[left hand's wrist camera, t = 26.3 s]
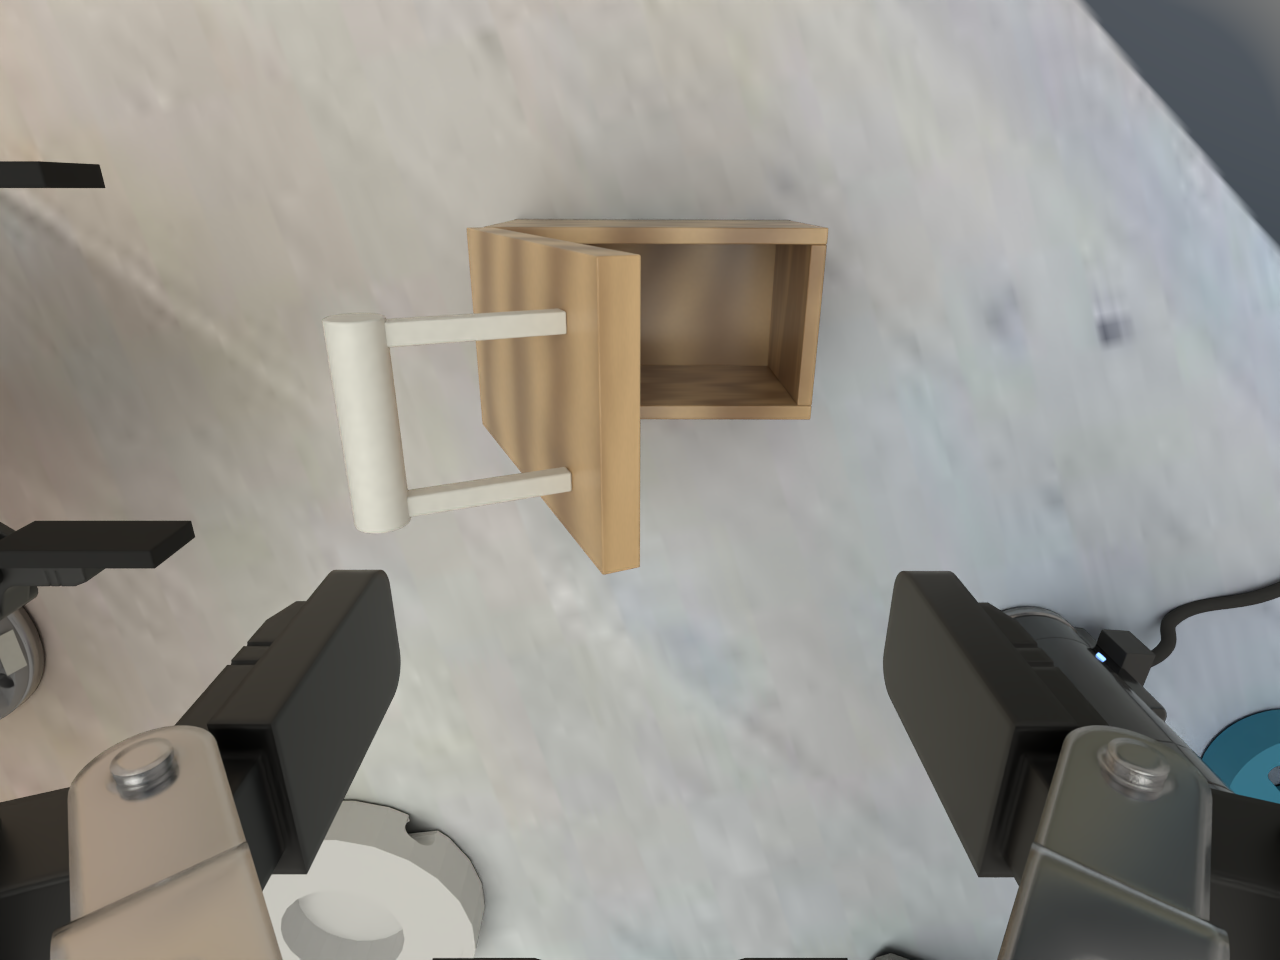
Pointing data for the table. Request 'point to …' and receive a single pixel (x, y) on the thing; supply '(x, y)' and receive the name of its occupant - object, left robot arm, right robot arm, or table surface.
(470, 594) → the table surface
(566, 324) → the lid
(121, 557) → the right robot arm
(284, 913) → the ashtray
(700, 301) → the chest
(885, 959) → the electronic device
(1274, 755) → the camera mount
